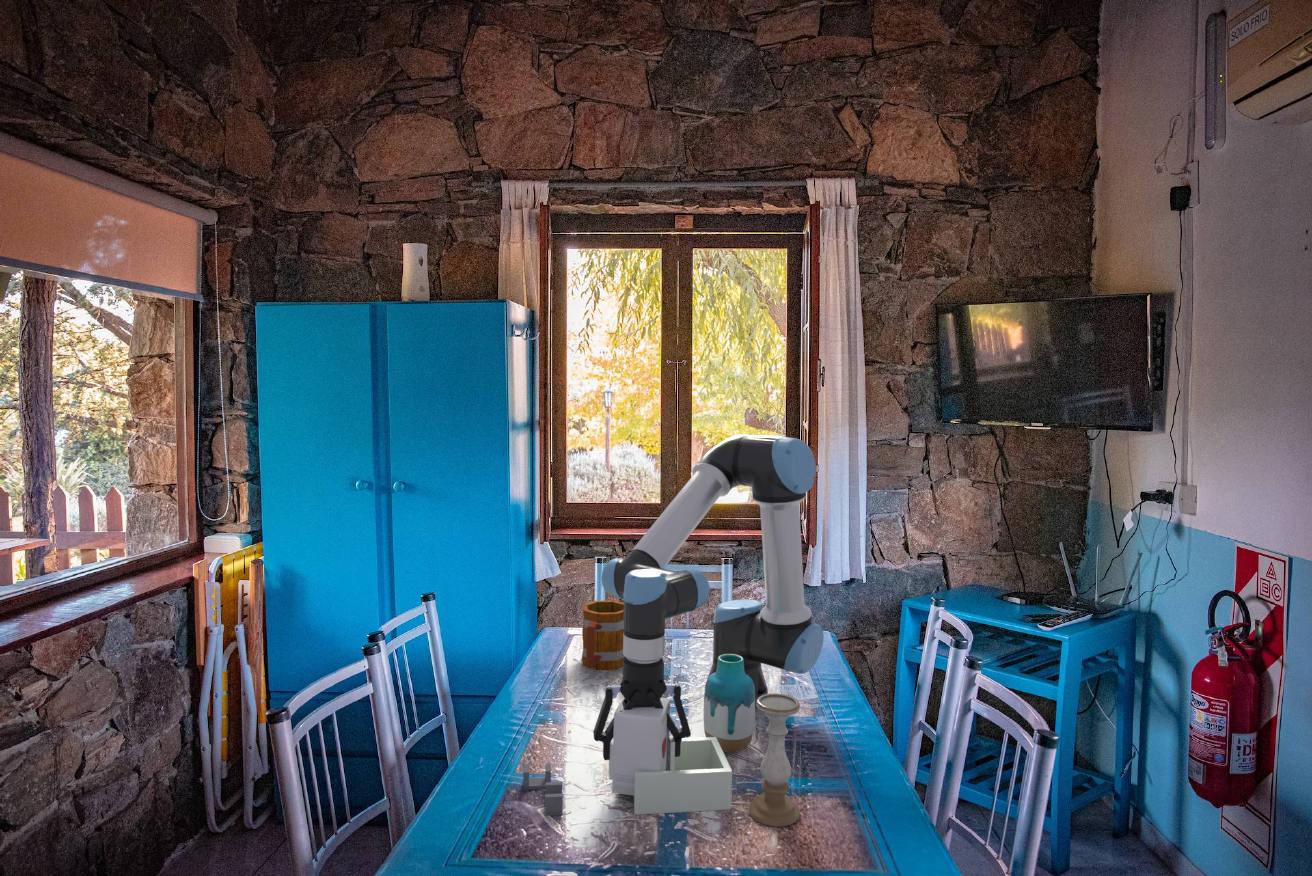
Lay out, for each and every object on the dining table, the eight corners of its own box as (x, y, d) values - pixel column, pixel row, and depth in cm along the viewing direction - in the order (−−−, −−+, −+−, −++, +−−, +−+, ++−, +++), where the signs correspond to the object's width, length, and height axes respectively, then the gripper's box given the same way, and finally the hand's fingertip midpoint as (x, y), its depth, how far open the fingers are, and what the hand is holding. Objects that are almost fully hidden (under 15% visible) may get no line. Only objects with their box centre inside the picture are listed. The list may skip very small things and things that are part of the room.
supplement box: (660, 800, 137) (661, 718, 136) (611, 794, 139) (612, 712, 137) (669, 775, 146) (671, 697, 144) (623, 769, 147) (624, 692, 146)
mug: (590, 650, 217) (591, 598, 216) (636, 656, 214) (637, 602, 212) (563, 675, 198) (564, 618, 197) (613, 682, 195) (614, 623, 194)
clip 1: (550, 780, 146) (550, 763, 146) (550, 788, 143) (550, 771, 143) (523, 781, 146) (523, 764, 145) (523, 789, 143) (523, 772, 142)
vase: (758, 741, 164) (761, 653, 163) (747, 764, 154) (750, 670, 153) (710, 733, 167) (712, 646, 166) (696, 755, 157) (698, 663, 156)
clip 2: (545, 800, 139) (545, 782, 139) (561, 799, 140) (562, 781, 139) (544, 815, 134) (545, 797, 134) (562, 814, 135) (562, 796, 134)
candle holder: (765, 832, 131) (769, 715, 129) (740, 805, 139) (743, 695, 137) (809, 821, 134) (813, 707, 133) (781, 796, 142) (785, 688, 141)
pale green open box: (714, 771, 151) (716, 736, 150) (730, 809, 138) (732, 771, 137) (627, 775, 148) (627, 740, 148) (634, 814, 135) (635, 775, 135)
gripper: (701, 647, 146) (698, 761, 147) (579, 650, 142) (578, 767, 144) (709, 662, 138) (706, 781, 140) (580, 665, 135) (579, 788, 137)
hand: (641, 774), depth 142 cm, fingers closed on supplement box, 10 cm apart
